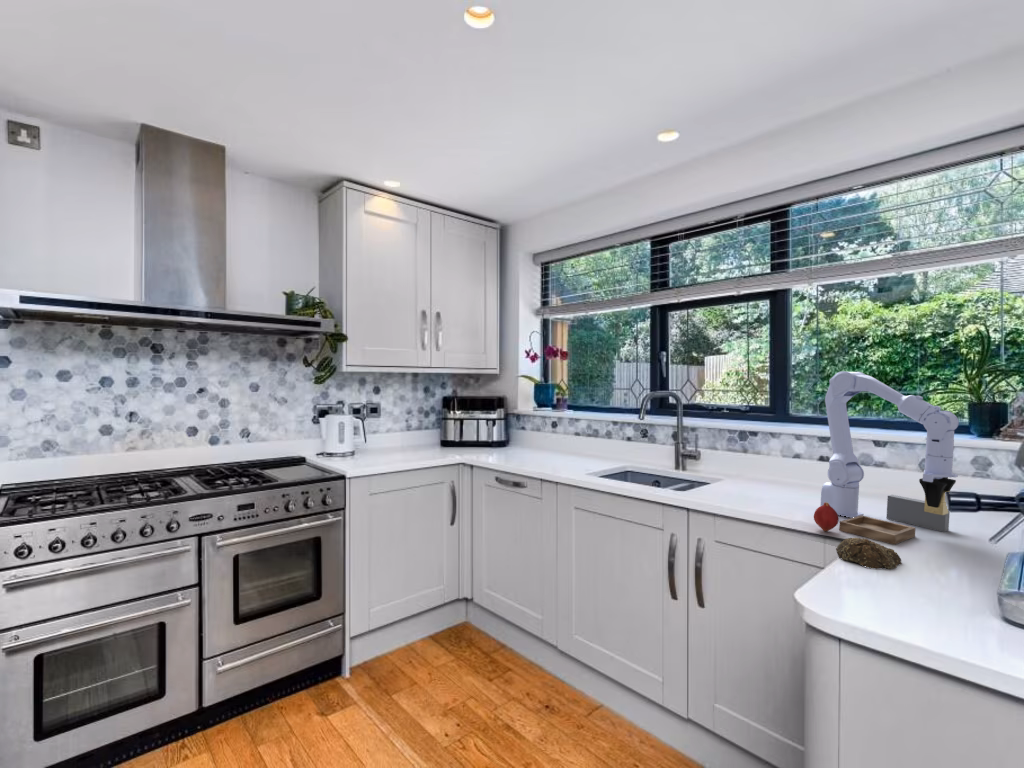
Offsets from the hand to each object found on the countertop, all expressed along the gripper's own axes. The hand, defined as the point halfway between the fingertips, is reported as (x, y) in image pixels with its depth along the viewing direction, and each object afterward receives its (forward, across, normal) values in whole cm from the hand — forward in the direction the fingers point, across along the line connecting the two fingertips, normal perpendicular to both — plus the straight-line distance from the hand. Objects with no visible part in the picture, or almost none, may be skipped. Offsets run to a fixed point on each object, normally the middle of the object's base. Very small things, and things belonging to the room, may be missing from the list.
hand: (936, 505), depth 138 cm
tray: (+8, -12, +9) cm, 17 cm away
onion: (+9, -23, +17) cm, 30 cm away
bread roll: (+9, -37, +1) cm, 38 cm away
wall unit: (+8, +9, +7) cm, 14 cm away
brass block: (+2, 0, 0) cm, 2 cm away
